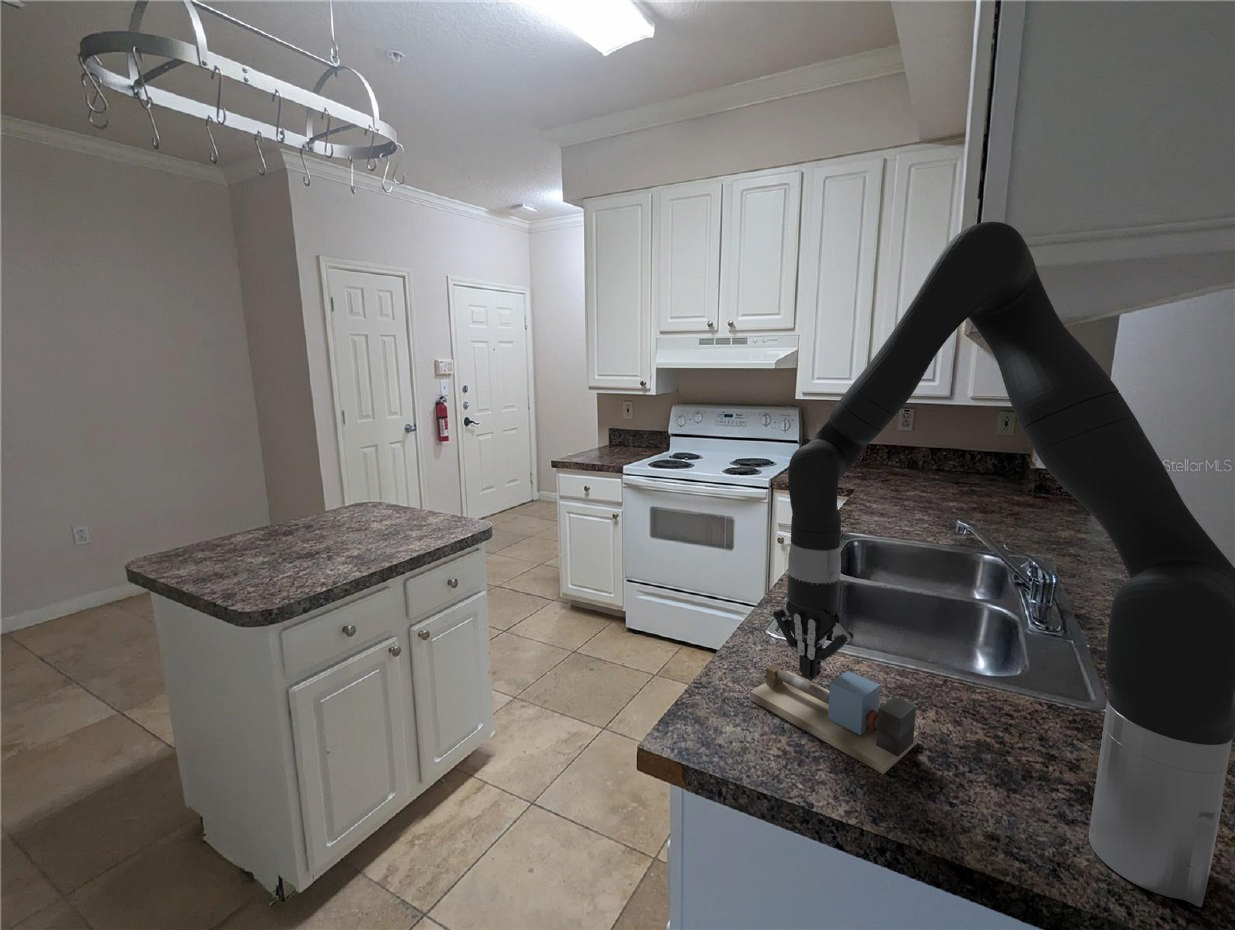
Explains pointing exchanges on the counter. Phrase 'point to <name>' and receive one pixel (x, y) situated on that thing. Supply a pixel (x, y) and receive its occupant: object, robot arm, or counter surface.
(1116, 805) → the robot arm
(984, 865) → the counter surface
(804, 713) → the rail board
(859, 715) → the blue sleeve
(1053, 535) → the counter surface
